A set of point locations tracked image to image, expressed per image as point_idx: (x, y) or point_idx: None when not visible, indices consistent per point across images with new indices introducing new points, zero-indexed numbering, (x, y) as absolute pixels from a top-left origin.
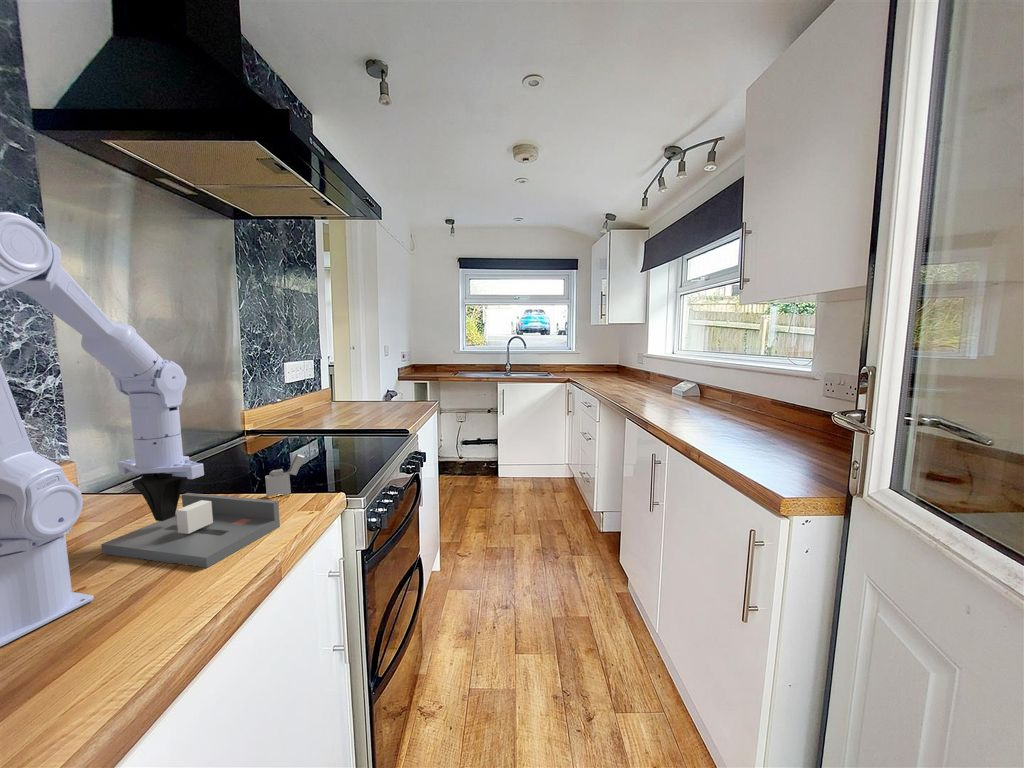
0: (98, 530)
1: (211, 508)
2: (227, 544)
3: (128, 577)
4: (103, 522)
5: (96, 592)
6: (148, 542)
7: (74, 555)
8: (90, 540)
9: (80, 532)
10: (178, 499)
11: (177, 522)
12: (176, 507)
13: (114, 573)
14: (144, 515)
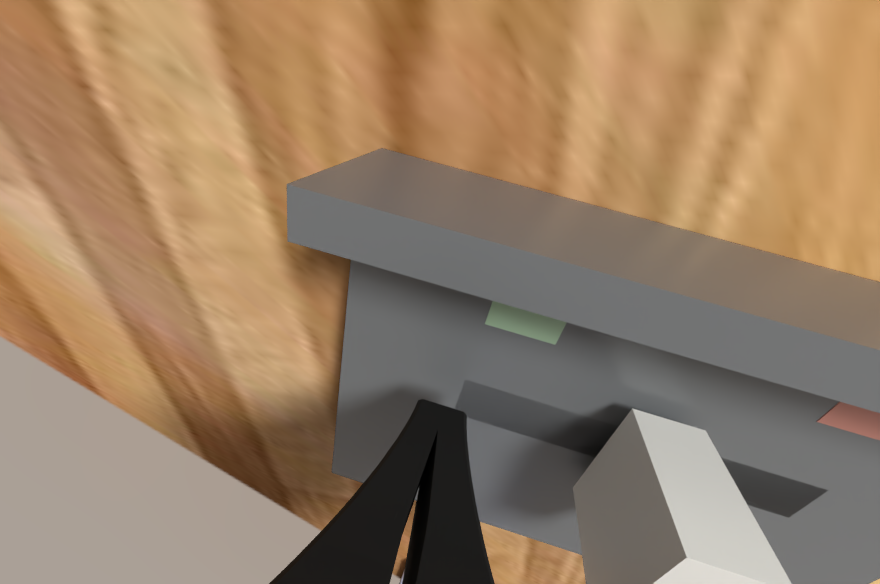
0: (120, 275)
1: (756, 526)
2: (851, 579)
3: (543, 554)
4: (30, 194)
5: (517, 580)
6: (489, 497)
7: (275, 433)
8: (200, 352)
9: (82, 285)
10: (477, 512)
11: (581, 541)
12: (468, 455)
13: (488, 532)
14: (96, 106)
